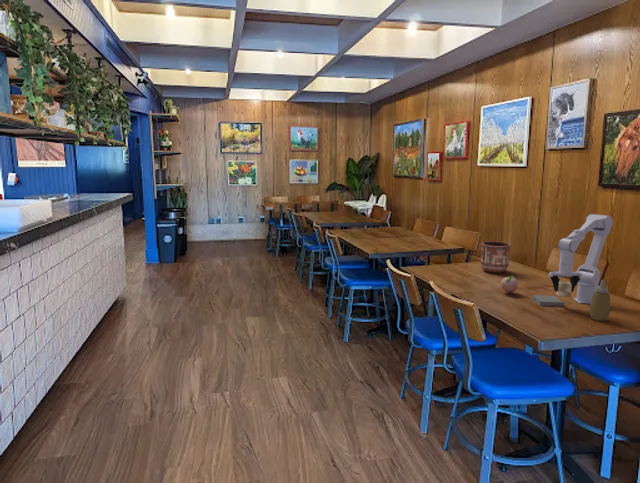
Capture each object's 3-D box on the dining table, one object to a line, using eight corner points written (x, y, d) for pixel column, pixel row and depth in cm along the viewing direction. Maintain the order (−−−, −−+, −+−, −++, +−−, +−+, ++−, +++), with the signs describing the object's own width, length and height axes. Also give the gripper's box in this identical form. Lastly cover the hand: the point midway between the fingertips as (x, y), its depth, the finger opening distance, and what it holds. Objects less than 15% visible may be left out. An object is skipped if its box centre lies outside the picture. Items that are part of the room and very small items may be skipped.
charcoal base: (554, 300, 235) (555, 295, 234) (563, 307, 224) (563, 302, 223) (532, 299, 236) (532, 295, 235) (539, 306, 225) (540, 301, 225)
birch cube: (568, 294, 223) (569, 282, 222) (570, 297, 218) (571, 285, 217) (556, 292, 225) (557, 281, 224) (557, 296, 220) (558, 283, 219)
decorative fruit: (503, 290, 251) (504, 272, 250) (519, 292, 246) (520, 274, 245) (497, 294, 244) (499, 275, 243) (513, 296, 239) (515, 278, 237)
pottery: (473, 269, 298) (475, 242, 295) (493, 267, 305) (495, 240, 302) (493, 276, 282) (496, 247, 279) (514, 273, 290) (517, 245, 286)
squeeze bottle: (601, 316, 210) (606, 277, 206) (613, 322, 202) (618, 282, 199) (584, 316, 209) (588, 278, 206) (595, 322, 201) (599, 282, 198)
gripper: (577, 261, 223) (574, 288, 225) (546, 261, 223) (544, 288, 226) (585, 265, 216) (582, 293, 218) (553, 265, 216) (551, 292, 219)
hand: (563, 291), depth 221 cm, fingers closed on birch cube, 7 cm apart
